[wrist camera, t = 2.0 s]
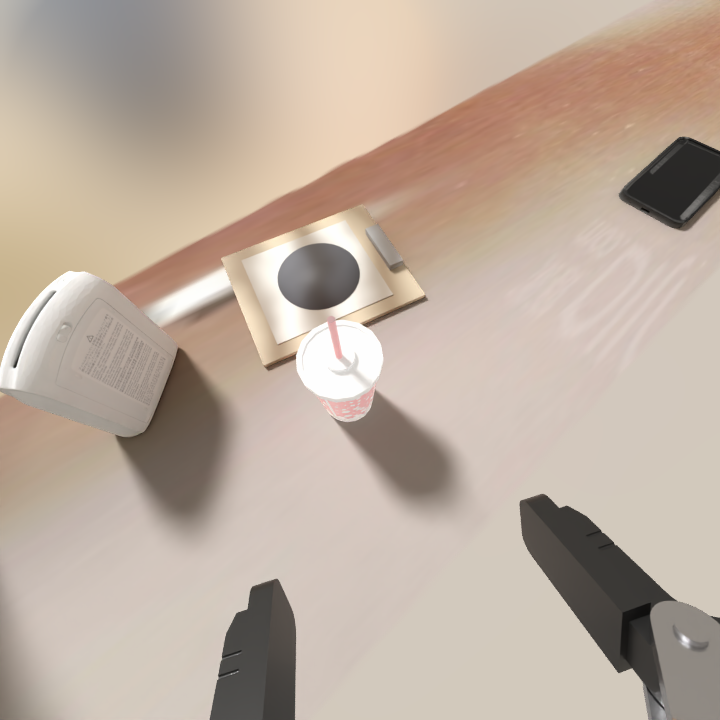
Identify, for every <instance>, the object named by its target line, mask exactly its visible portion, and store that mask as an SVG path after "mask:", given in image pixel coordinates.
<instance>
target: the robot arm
mask: <svg viewBox="0 0 720 720" xmlns="http://www.w3.org/2000/svg"><path fill="white" fill-rule="evenodd" d="M520 515H521V526H522V536H523V540H524V542H525V545H526V547H527V549H528V551H529V552H530V554H531V555H532V557H533V558H534V560H535V561H536V562H537V564H538V565H539V566H540V568H541V569H542V570H543V572H544V573H545V574H546V576H547V577H548V578H549V580H550V581H551V583H552V584H553V585H554V587H555V588H556V589H557V591H558V592H559V593H560V595H561V596H562V597H563V599H564V600H565V601H566V603H567V604H568V606H569V607H570V608H571V610H572V611H573V612H574V614H575V615H576V616H577V618H578V619H579V620H580V622H581V623H582V624H583V626H584V627H585V628H586V630H587V631H588V633H589V634H590V635H591V637H592V638H593V639H594V640H595V642H596V643H597V645H598V646H599V647H600V649H601V650H602V651H603V653H604V654H605V655H606V657H607V658H608V660H609V661H610V662H611V663H612V665H613V666H614V668H615V669H616V670H617V672H618V673H620V672H623V671H626V670H628V669H631V668H633V670H634V671H635V672H636V674H637V675H638V676H639V677H640V679H641V680H642V681H643V690H644V696H645V702H646V707H647V713H648V719H649V720H720V618H717V617H713V616H709V615H707V614H706V613H704V612H703V611H701V610H699V609H697V608H696V607H693V606H691V605H689V604H685V603H682V602H678V601H676V600H675V599H674V598H672V597H671V596H670V595H669V594H668V593H666V592H665V591H664V590H663V589H662V588H661V587H660V586H659V585H658V584H657V583H656V582H655V581H654V580H653V579H652V578H651V577H650V576H648V575H647V574H646V573H645V572H644V571H643V570H642V569H641V568H640V567H639V566H638V565H637V564H636V563H635V562H634V561H633V560H631V559H630V557H629V556H627V555H626V554H625V553H624V552H623V551H622V550H621V549H620V548H619V547H618V546H617V545H615V544H614V542H613V541H612V540H611V539H609V537H608V536H606V535H605V534H604V533H602V532H601V530H600V529H599V528H598V527H597V526H596V525H595V524H594V523H593V522H592V521H591V520H590V519H589V518H588V517H587V516H585V515H583V514H581V513H580V512H578V511H576V510H574V509H572V508H571V507H569V506H565V507H562V508H558V507H557V505H556V504H554V502H553V501H552V500H551V499H550V498H548V496H546V495H544V494H540V495H537V496H534V497H531V498H528V499H525V500H521V501H520ZM295 669H296V626H295V619H294V614H293V611H292V608H291V606H290V604H289V602H288V600H287V597H286V595H285V593H284V591H283V589H282V586H281V584H280V582H279V580H278V579H274V580H271V581H268V582H265V583H262V584H259V585H256V586H253V587H252V588H251V591H250V597H249V603H248V609H247V610H244V611H241V612H238V613H236V615H235V617H234V619H233V621H232V623H231V625H230V627H229V629H228V631H227V633H226V637H225V643H224V648H223V653H222V661H221V663H220V669H219V674H218V676H219V679H218V680H217V684H216V689H215V695H214V700H213V705H212V710H211V715H210V720H295Z"/></svg>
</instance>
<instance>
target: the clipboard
mask: <svg viewBox="0 0 720 720" xmlns="http://www.w3.org/2000/svg"><path fill="white" fill-rule="evenodd" d="M221 260H222V262H223V265H224V267H225V270H226V272H227V275H228V277H229V280H230V282H231V285H232V287H233V290H234V292H235V295H236V297H237V300H238V302H239V305H240V307H241V310H242V312H243V315H244V317H245V320H246V322H247V325H248V327H249V330H250V332H251V335H252V337H253V340H254V342H255V345H256V347H257V350H258V352H259V355H260V357H261V360H262V362H263V365H264V367H265V368H266V367H268V366H270V365H272V364H275V363H277V362H279V361H281V360H284V359H286V358H288V357H290V356H293V355H295V354H297V352H298V349H299V347H300V344H301V341H302V340H303V339H304V338H305V337H306V336H307V335H308V334H309V332H310V331H311V330H312V329H314V328H316V327H318V326H320V325H322V324H324V323H326V322H327V318H328V317H329V316H334V317H335V321H337V320H347V321H352V322H357V323H360V324H361V325H363V324H365V323H367V322H370V321H372V320H374V319H377V318H379V317H381V316H383V315H386V314H388V313H390V312H392V311H395V310H397V309H399V308H401V307H404V306H406V305H408V304H410V303H413V302H415V301H417V300H420V299H422V298H424V297H425V293H424V292H423V291H422V289H421V288H420V286H419V285H418V283H417V282H416V281H415V279H414V278H413V276H412V275H411V273H410V272H409V270H408V269H407V268H406V266H405V265H404V263H403V259H402V258H401V256H400V255H399V253H398V252H397V250H396V249H395V248H394V246H393V245H392V243H391V242H390V240H389V239H388V238H387V236H386V235H385V233H384V232H383V230H382V229H381V228H380V226H379V225H378V224H376V223H375V222H374V220H373V219H372V217H371V216H370V214H369V213H368V212H367V210H366V209H365V207H364V206H363V204H362V205H359V206H356V207H354V208H351V209H349V210H346V211H343V212H341V213H338V214H335V215H333V216H330V217H328V218H325V219H322V220H320V221H317V222H314V223H312V224H309V225H307V226H304V227H301V228H299V229H296V230H294V231H291V232H288V233H286V234H283V235H280V236H278V237H275V238H273V239H270V240H267V241H265V242H262V243H260V244H257V245H254V246H252V247H249V248H246V249H244V250H241V251H239V252H236V253H233V254H231V255H228V256H225V257H223V258H221Z"/></svg>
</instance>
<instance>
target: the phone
mask: <svg viewBox="0 0 720 720" xmlns="http://www.w3.org/2000/svg"><path fill="white" fill-rule="evenodd" d="M719 189H720V151H718V150H716V149H714V148H712V147H709V146H707V145H705V144H703V143H701V142H698V141H696V140H694V139H692V138H689V137H679V138H678V139H677V140H675V141H674V142H673V143H672V144H671V145H670V146H669V147H668V148H666V149H665V150H664V151H663V152H662V153H661V154H660V155H658V157H657V158H655V159H654V160H653V161H652V162H651V163H650V164H649V165H648V166H647V167H646V168H644V169H643V170H642V171H641V172H640V173H639V174H638V175H637V176H636V177H634V178H633V179H632V180H631V181H630V182H629V183H628V184H627V185H626V186H624V188H623V189H622V190H621V192H620V193H619V197H620V199H621V200H622V201H624V202H625V203H627V204H629V205H631V206H633V207H635V208H636V209H638V210H640V211H642V212H644V213H645V214H647V215H649V216H651V217H653V218H655V219H656V220H658V221H660V222H662V223H664V224H665V225H667V226H669V227H672V228H680V227H682V226H683V225H685V224H686V223H687V222H688V221H689V220H690V219H691V218H692V217H693V216H694V214H695V213H696V212H697V211H698V210H699V209H700V208H701V207H702V206H703V205H704V204H705V203H706V202H707V201H708V200H709V199H710V198H711V197H712V196H713V195H714V194H715V193H716V192H717V191H718V190H719ZM629 202H631V203H629ZM642 207H643V208H644V209H646V210H648V211H650V212H649V213H648V212H646V211H644V210H642V209H641V208H642Z"/></svg>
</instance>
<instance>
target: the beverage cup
mask: <svg viewBox="0 0 720 720" xmlns="http://www.w3.org/2000/svg"><path fill="white" fill-rule="evenodd" d="M296 362H297V372H298V374H299V376H300V377H301V379H302V381H303V383H304V385H305V386H306V388H307V389H308V390H309V391H311V392H312V393H313V394H315V395H316V396H317V397H318V399H319V400H320V401H321V403H322V404H323V406H324V407H325V408H326V410H327V411H328V413H329V414H330V415H331V416H333V417H334V418H335V419H337V420H340V421H344V422H351V421H357V420H358V419H360V418H362V417H364V416H365V415H366V414H367V412H368V411H369V410H370V408H371V405H372V401H373V396H374V391H375V385H376V382H377V381H378V379H379V377H380V373H381V369H382V365H383V354H382V348H381V344H380V342H379V341H378V339H377V338H376V336H375V335H374V334H373V332H372V331H371V330H369V329H368V328H366V327H364V326H363V325H361V324H360V323H357V322H352V321H347V320H337V321H335V317H334V316H329V317H328V318H327V322H326V323H324V324H322V325H320V326H318V327H316V328H314V329H312V330H311V331H310V332H309V334H308V335H307V336H306V337H305V338H304V339H303V340H302V341H301V344H300V347H299V349H298V352H297V355H296Z"/></svg>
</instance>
